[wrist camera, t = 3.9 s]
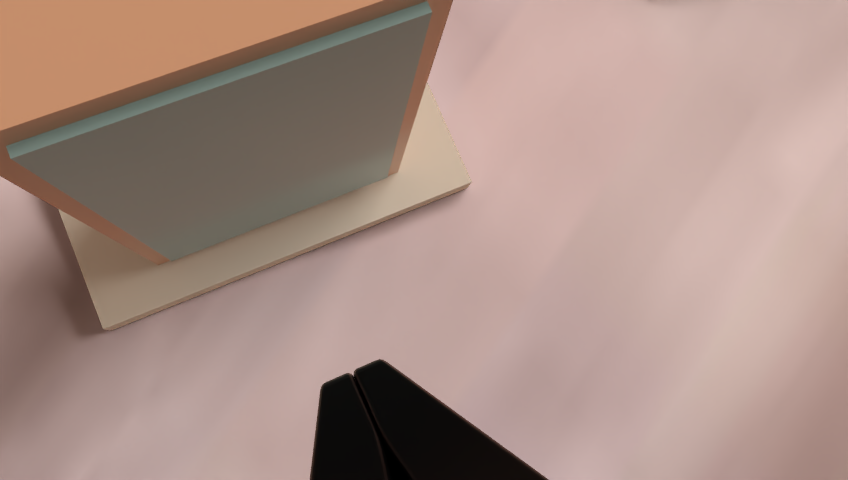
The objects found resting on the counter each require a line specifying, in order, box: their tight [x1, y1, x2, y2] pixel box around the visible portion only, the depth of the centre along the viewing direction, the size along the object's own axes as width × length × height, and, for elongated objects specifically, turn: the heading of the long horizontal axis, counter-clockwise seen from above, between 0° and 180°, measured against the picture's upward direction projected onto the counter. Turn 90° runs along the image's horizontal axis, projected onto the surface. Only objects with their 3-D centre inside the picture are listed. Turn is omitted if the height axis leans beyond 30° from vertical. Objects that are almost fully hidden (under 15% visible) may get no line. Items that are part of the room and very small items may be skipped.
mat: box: [58, 83, 472, 330], centre depth 18 cm, size 12×9×1 cm
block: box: [0, 0, 453, 265], centre depth 13 cm, size 2×6×9 cm, turn 113°
